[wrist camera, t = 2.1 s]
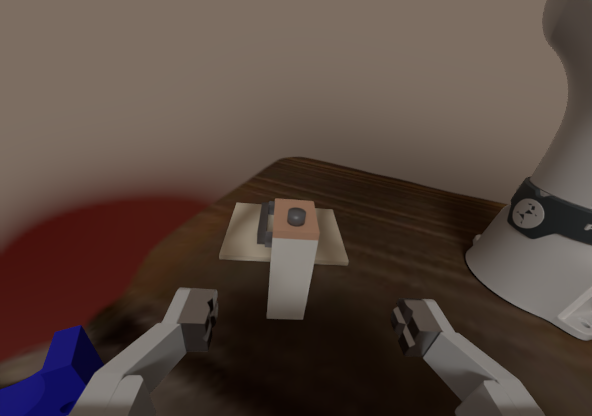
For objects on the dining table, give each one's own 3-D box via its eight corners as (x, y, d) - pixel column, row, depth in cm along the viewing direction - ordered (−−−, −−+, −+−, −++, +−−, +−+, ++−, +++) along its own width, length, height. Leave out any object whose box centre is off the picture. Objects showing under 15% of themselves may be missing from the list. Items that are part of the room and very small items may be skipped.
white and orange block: (300, 281, 32) (314, 192, 25) (302, 319, 27) (321, 223, 20) (269, 279, 31) (275, 189, 25) (266, 318, 27) (273, 220, 20)
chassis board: (331, 213, 47) (334, 200, 46) (347, 265, 35) (351, 250, 34) (236, 206, 45) (236, 193, 44) (219, 259, 34) (218, 243, 32)
